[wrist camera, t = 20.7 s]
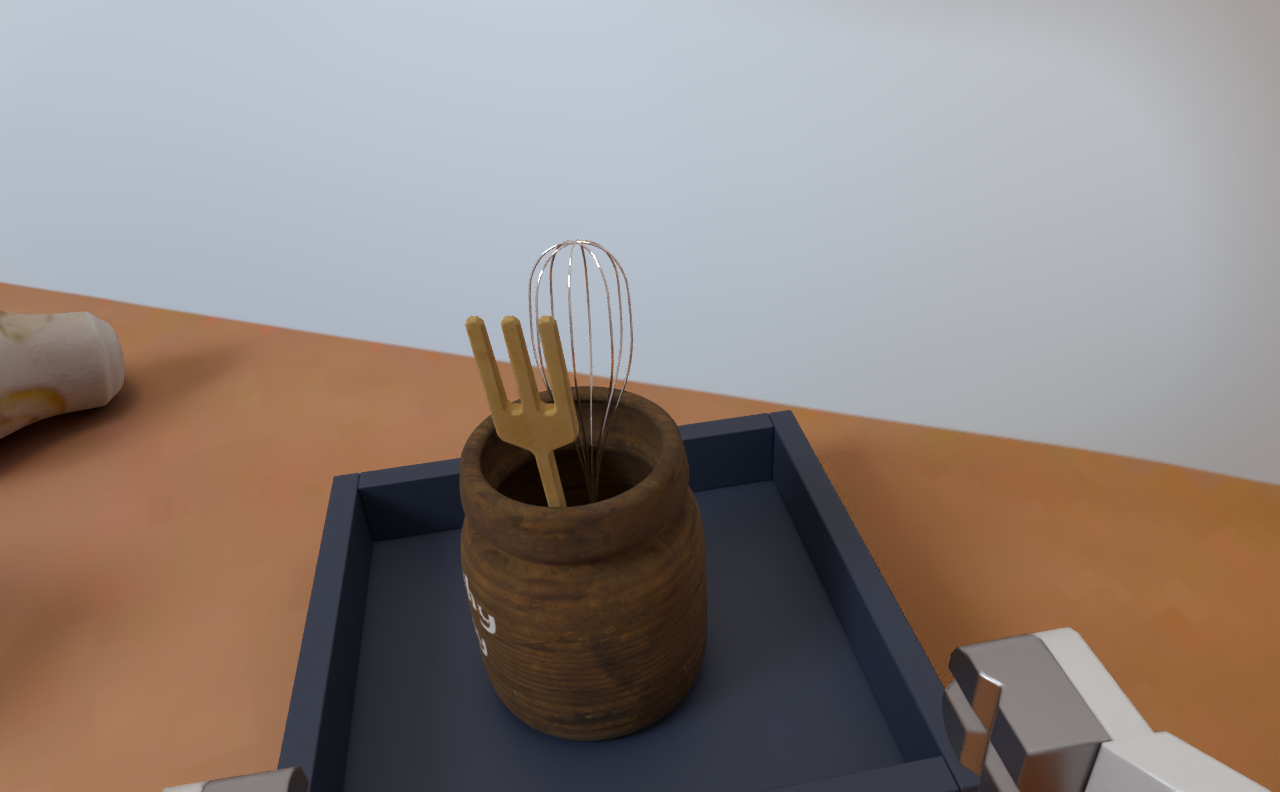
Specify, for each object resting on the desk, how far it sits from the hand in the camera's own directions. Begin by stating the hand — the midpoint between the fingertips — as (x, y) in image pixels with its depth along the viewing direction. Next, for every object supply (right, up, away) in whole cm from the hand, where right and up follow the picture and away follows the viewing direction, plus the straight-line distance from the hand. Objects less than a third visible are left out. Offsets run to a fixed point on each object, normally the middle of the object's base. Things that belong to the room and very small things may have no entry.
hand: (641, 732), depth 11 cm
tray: (-1, -3, +13) cm, 14 cm away
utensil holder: (-1, -3, +13) cm, 13 cm away
